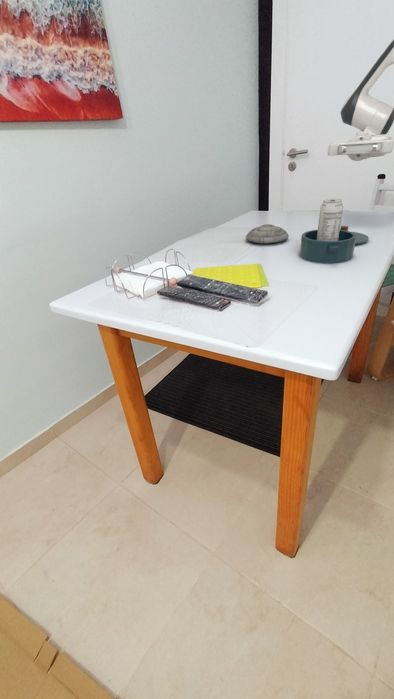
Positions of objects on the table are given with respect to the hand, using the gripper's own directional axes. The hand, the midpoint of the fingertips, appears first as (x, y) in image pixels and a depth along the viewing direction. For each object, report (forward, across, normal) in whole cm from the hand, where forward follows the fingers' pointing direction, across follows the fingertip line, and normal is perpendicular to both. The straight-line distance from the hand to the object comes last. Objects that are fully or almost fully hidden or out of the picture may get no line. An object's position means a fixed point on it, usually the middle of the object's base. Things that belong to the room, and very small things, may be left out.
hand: (359, 148), depth 109 cm
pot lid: (+13, -1, +25) cm, 28 cm away
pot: (+30, -4, +26) cm, 40 cm away
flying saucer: (+16, -26, +26) cm, 40 cm away
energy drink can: (+30, -4, +26) cm, 40 cm away
